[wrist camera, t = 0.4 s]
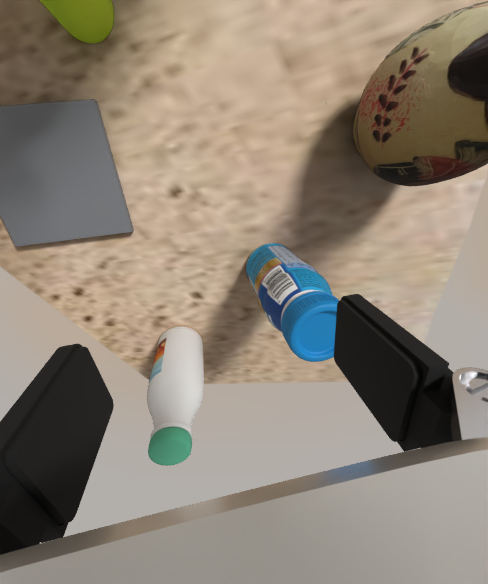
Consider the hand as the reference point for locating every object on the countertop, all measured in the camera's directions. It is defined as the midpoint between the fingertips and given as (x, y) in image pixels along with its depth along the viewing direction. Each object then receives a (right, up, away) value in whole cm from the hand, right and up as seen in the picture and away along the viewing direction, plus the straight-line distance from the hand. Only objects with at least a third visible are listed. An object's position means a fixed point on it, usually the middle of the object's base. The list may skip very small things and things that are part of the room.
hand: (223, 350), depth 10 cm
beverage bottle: (+5, +7, +32) cm, 33 cm away
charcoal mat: (-23, +17, +22) cm, 36 cm away
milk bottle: (-11, -7, +36) cm, 38 cm away
